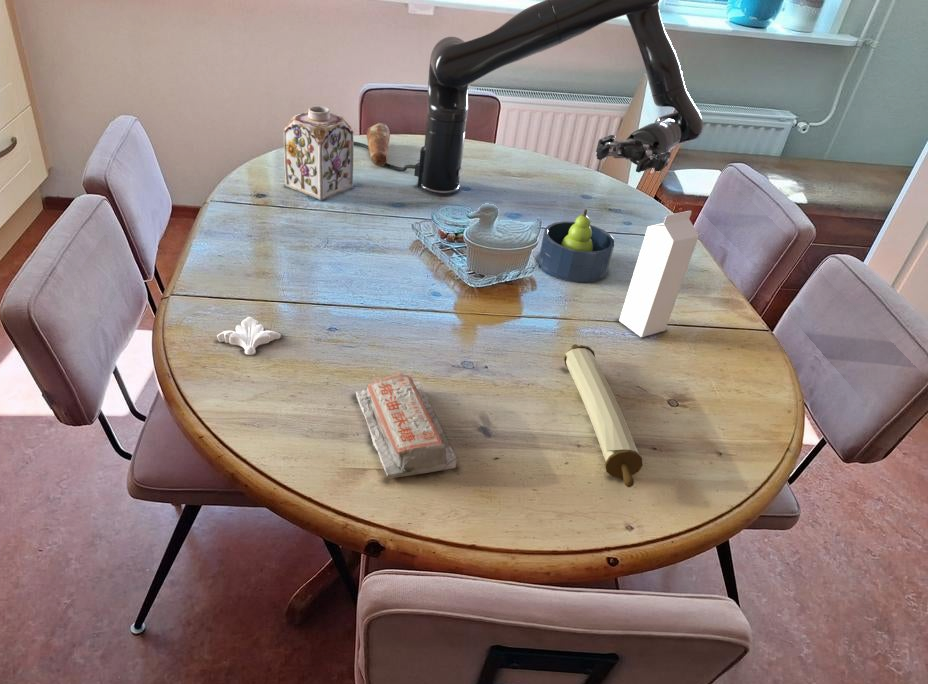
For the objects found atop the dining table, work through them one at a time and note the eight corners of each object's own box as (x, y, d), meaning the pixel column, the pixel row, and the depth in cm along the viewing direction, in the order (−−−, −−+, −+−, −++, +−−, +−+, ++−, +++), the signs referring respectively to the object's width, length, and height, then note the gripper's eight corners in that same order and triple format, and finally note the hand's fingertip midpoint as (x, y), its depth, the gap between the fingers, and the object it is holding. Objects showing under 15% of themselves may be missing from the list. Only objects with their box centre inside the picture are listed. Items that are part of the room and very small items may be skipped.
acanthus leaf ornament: (217, 341, 113) (216, 332, 112) (245, 323, 118) (244, 313, 117) (253, 357, 110) (252, 347, 109) (281, 337, 115) (280, 328, 114)
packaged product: (462, 443, 91) (389, 455, 88) (458, 470, 94) (387, 482, 91) (420, 363, 105) (355, 371, 102) (418, 388, 108) (354, 396, 105)
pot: (528, 269, 141) (534, 239, 137) (551, 243, 151) (557, 215, 147) (595, 289, 137) (603, 259, 133) (614, 261, 147) (622, 233, 143)
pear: (553, 264, 142) (565, 210, 135) (563, 252, 147) (575, 200, 140) (583, 273, 140) (597, 219, 133) (592, 261, 145) (606, 208, 138)
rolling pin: (645, 499, 93) (656, 472, 90) (604, 498, 92) (614, 471, 89) (587, 357, 118) (594, 332, 115) (554, 355, 118) (560, 331, 114)
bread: (389, 143, 193) (390, 123, 189) (388, 169, 178) (389, 147, 174) (366, 141, 192) (367, 121, 189) (363, 167, 177) (364, 145, 174)
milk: (665, 331, 127) (707, 218, 113) (640, 338, 124) (680, 223, 111) (641, 314, 131) (679, 203, 117) (617, 320, 128) (653, 207, 115)
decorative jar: (317, 173, 172) (317, 97, 160) (354, 187, 167) (356, 110, 156) (283, 187, 164) (280, 107, 153) (320, 201, 159) (320, 121, 148)
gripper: (624, 116, 151) (591, 132, 140) (687, 134, 145) (657, 152, 134) (615, 151, 156) (582, 168, 145) (676, 170, 149) (646, 189, 139)
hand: (618, 160), depth 139 cm, fingers open, 8 cm apart
